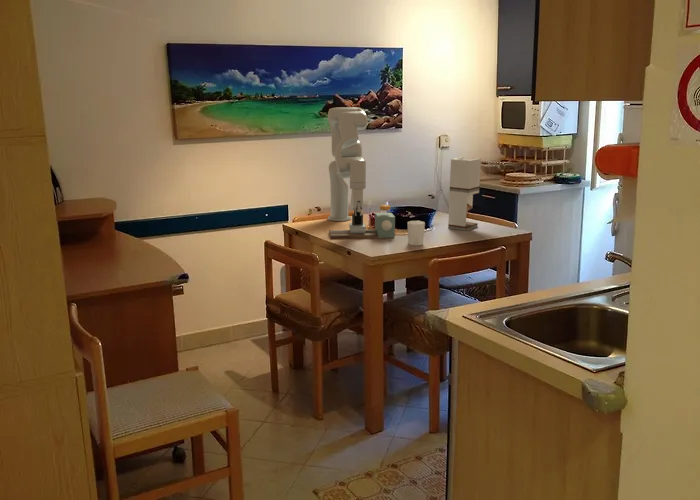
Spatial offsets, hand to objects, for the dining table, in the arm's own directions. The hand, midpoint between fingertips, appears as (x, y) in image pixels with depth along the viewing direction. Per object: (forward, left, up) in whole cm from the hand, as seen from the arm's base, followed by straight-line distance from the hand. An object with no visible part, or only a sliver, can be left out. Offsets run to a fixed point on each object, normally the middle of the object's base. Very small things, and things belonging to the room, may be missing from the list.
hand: (357, 223), depth 317 cm
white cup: (+19, +25, -6) cm, 32 cm away
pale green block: (0, +13, -6) cm, 15 cm away
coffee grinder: (-14, +56, -6) cm, 58 cm away
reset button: (0, +13, +7) cm, 15 cm away
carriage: (0, 0, -4) cm, 4 cm away
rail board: (0, -2, -6) cm, 7 cm away
